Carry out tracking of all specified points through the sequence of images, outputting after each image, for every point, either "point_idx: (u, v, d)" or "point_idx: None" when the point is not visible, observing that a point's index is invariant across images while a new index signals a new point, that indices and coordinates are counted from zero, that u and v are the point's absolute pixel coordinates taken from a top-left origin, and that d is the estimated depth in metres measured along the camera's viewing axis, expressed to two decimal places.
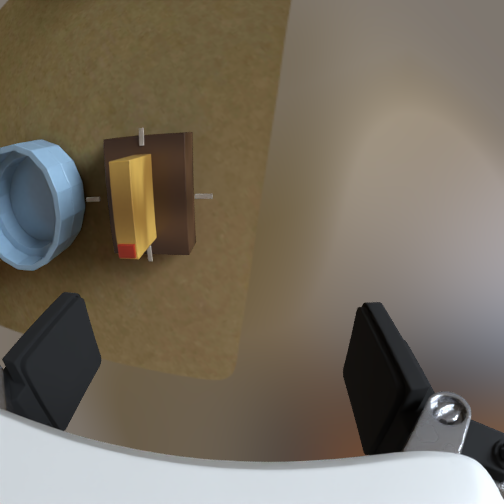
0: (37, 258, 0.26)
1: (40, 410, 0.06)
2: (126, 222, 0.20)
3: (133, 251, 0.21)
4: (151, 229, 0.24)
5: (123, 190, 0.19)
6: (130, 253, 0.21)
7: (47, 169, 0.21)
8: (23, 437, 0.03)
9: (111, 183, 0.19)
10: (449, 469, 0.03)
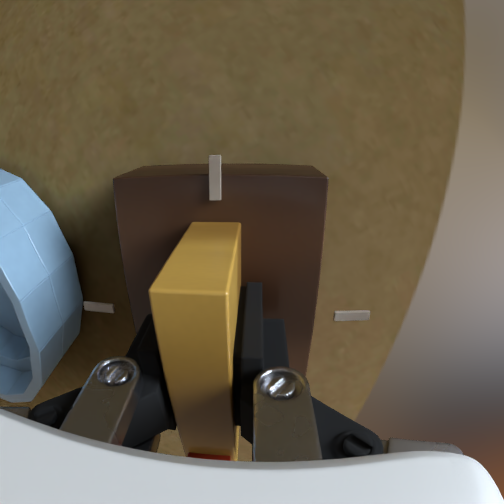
0: (13, 376, 0.13)
1: (167, 403, 0.08)
2: (210, 426, 0.07)
3: None
4: None
5: (203, 370, 0.07)
6: None
7: None
8: (23, 437, 0.03)
9: (162, 349, 0.06)
10: (449, 469, 0.03)
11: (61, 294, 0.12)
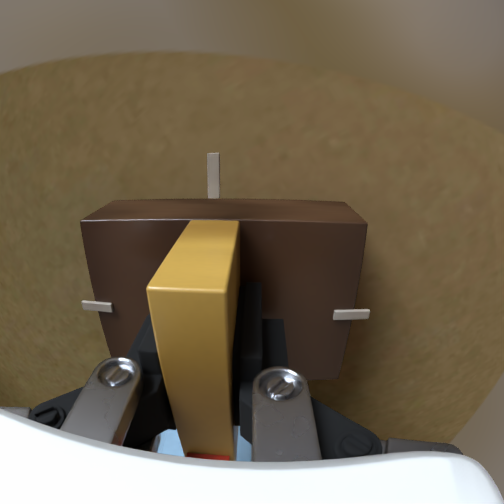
0: None
1: (168, 403, 0.08)
2: (209, 426, 0.07)
3: None
4: None
5: (202, 369, 0.07)
6: None
7: None
8: (23, 437, 0.03)
9: (160, 348, 0.06)
10: (449, 469, 0.03)
11: None
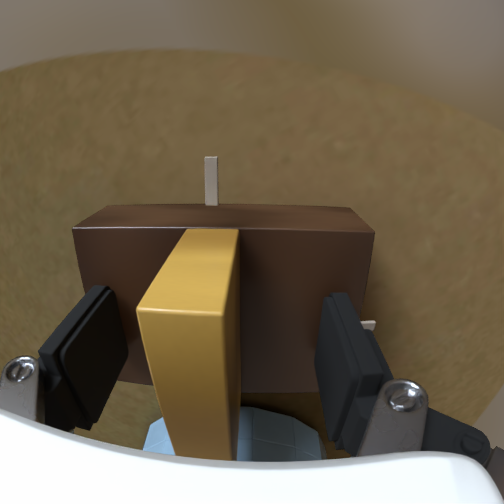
0: None
1: (74, 403, 0.07)
2: (207, 447, 0.07)
3: None
4: (239, 396, 0.10)
5: (198, 393, 0.06)
6: None
7: None
8: (23, 437, 0.03)
9: (153, 371, 0.06)
10: (449, 469, 0.03)
11: None
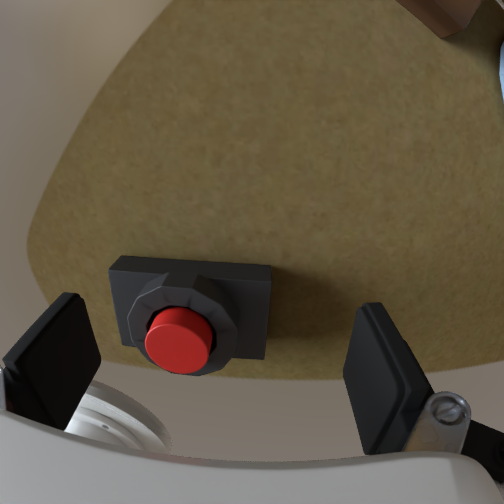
0: None
1: (40, 411, 0.06)
2: None
3: None
4: None
5: None
6: None
7: None
8: (23, 437, 0.03)
9: None
10: (449, 469, 0.03)
11: None
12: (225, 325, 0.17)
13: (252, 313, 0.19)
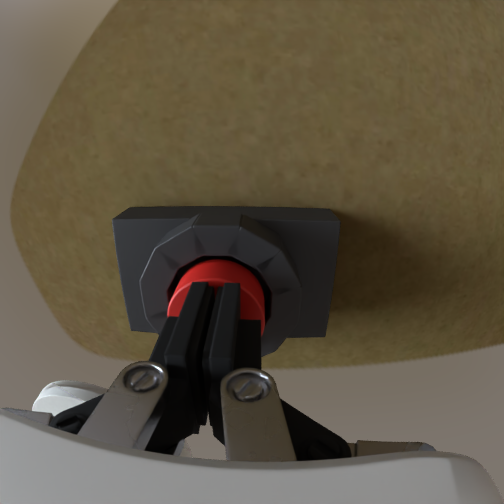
0: None
1: (193, 406, 0.07)
2: None
3: None
4: None
5: None
6: None
7: None
8: (23, 437, 0.03)
9: None
10: (449, 469, 0.03)
11: None
12: (285, 282, 0.12)
13: (313, 269, 0.14)
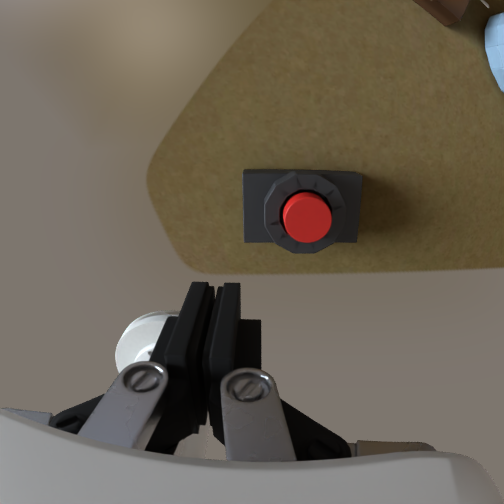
0: None
1: (193, 406, 0.07)
2: None
3: None
4: None
5: None
6: None
7: None
8: (23, 437, 0.03)
9: None
10: (449, 469, 0.03)
11: (496, 20, 0.17)
12: (338, 202, 0.24)
13: (349, 201, 0.26)
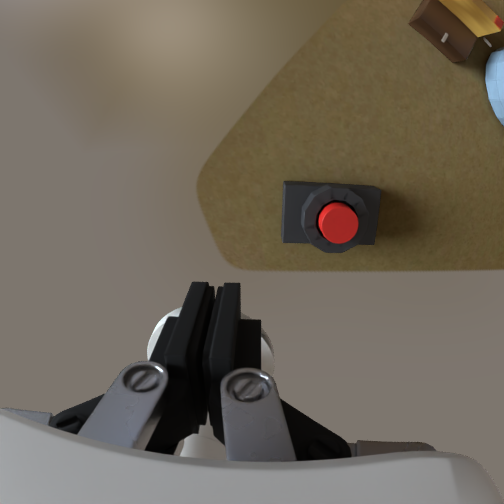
0: None
1: (193, 406, 0.07)
2: (485, 7, 0.16)
3: (500, 19, 0.16)
4: None
5: None
6: (500, 21, 0.16)
7: None
8: (23, 437, 0.03)
9: None
10: (449, 469, 0.03)
11: (496, 57, 0.22)
12: (363, 211, 0.29)
13: (370, 210, 0.31)
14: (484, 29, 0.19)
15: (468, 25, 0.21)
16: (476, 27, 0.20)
